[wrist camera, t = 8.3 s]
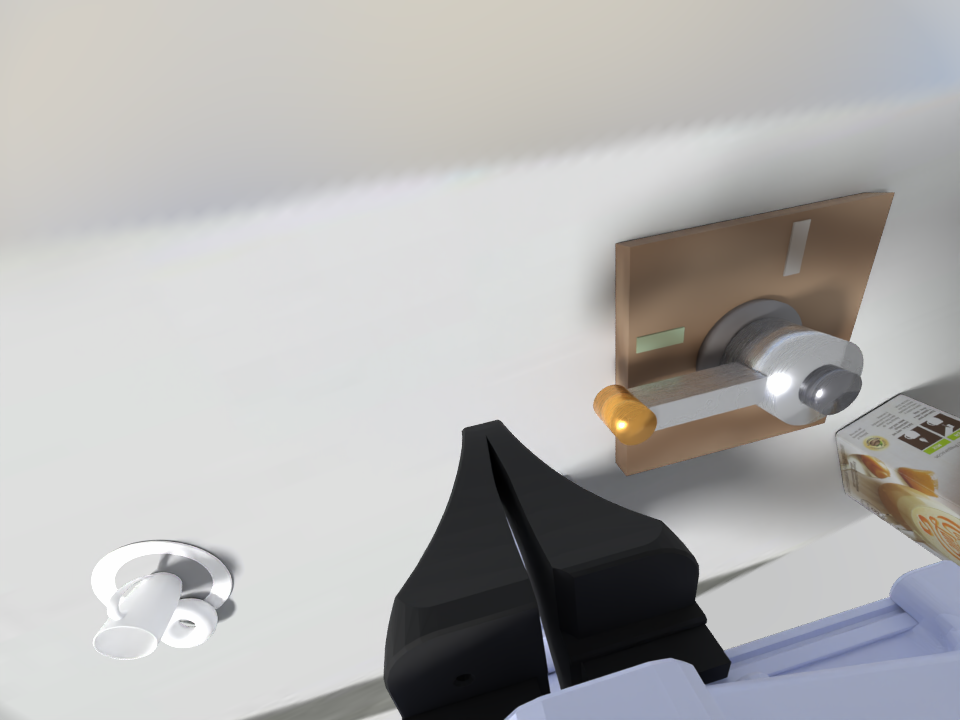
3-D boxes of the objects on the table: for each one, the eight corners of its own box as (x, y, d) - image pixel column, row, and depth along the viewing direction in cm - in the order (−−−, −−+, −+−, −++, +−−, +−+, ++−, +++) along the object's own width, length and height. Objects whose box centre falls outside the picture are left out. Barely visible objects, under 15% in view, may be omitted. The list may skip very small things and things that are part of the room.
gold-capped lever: (801, 309, 22) (899, 337, 17) (785, 381, 24) (868, 422, 19) (585, 361, 20) (632, 406, 16) (588, 433, 23) (631, 489, 18)
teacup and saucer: (233, 622, 28) (206, 687, 24) (104, 623, 25) (53, 695, 22) (237, 537, 25) (206, 598, 21) (91, 531, 22) (29, 597, 19)
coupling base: (805, 412, 29) (832, 427, 27) (615, 462, 27) (631, 482, 25) (864, 192, 22) (907, 192, 20) (615, 243, 20) (636, 248, 19)
